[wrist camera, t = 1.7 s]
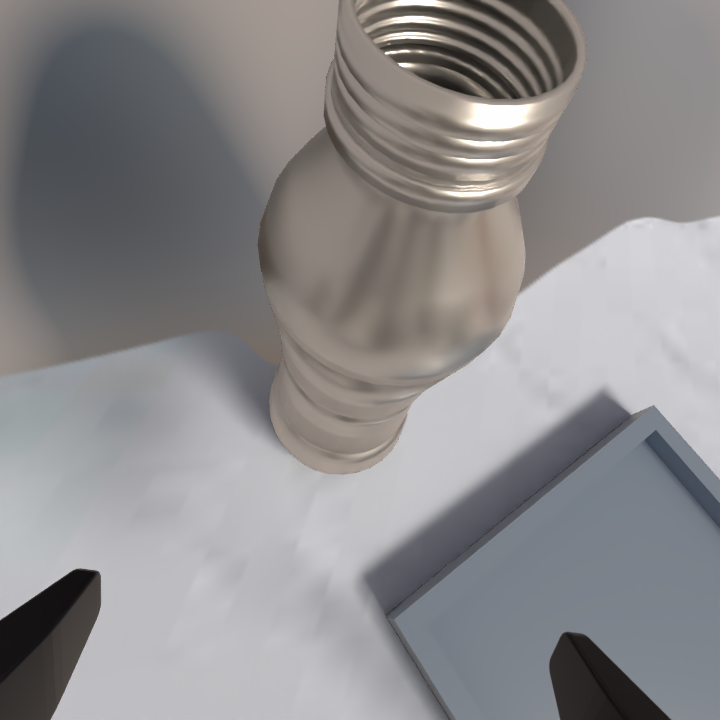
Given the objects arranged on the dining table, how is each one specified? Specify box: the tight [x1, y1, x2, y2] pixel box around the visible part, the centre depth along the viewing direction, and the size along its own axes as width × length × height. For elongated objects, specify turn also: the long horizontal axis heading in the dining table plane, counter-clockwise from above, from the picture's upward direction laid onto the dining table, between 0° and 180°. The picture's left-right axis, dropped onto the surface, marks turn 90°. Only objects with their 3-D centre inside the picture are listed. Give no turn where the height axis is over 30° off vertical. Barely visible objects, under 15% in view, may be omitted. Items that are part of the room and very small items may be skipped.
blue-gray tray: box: [386, 405, 720, 720], centre depth 21 cm, size 18×18×2 cm
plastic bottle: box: [258, 0, 587, 474], centre depth 16 cm, size 6×7×20 cm
